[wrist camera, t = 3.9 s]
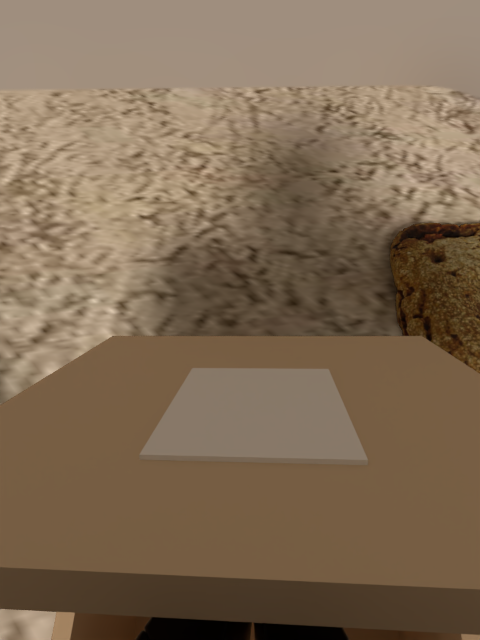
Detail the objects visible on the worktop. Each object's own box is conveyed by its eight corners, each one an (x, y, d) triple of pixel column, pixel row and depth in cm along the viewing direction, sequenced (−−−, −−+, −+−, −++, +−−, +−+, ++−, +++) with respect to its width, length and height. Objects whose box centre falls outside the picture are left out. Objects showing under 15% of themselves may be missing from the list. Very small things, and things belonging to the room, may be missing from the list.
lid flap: (821, 653, 4) (840, 598, 4) (-233, 595, 5) (-248, 549, 5) (420, 351, 16) (422, 333, 16) (114, 349, 17) (112, 333, 17)
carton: (415, 680, 18) (509, 778, 11) (122, 661, 19) (31, 739, 12) (381, 406, 23) (428, 352, 16) (155, 403, 24) (107, 350, 17)
